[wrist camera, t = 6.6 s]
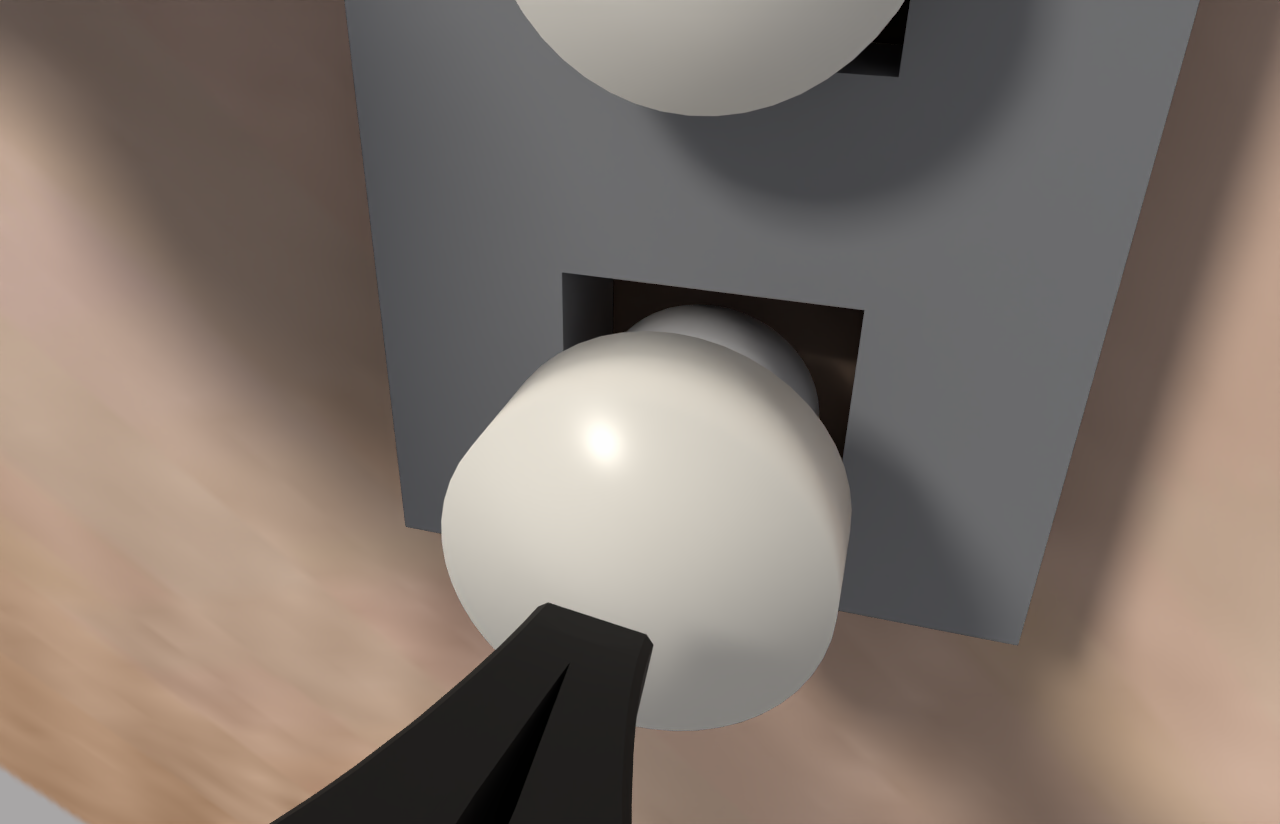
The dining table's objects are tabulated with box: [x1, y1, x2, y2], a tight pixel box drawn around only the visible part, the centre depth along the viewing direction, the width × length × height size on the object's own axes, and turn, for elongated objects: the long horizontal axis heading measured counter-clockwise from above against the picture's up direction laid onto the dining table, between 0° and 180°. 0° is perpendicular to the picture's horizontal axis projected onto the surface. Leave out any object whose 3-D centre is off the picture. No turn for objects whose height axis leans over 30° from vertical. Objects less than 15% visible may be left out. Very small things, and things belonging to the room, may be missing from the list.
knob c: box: [441, 304, 852, 731], centre depth 15 cm, size 6×6×5 cm
